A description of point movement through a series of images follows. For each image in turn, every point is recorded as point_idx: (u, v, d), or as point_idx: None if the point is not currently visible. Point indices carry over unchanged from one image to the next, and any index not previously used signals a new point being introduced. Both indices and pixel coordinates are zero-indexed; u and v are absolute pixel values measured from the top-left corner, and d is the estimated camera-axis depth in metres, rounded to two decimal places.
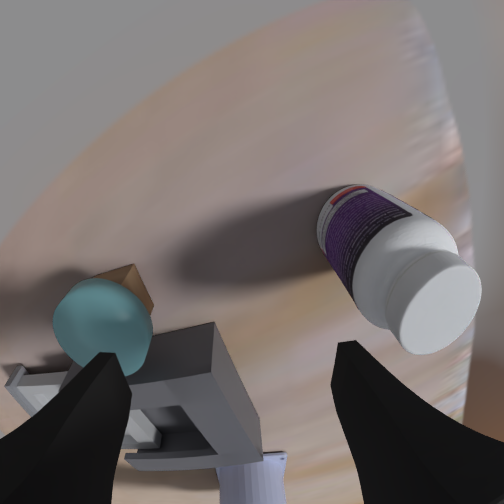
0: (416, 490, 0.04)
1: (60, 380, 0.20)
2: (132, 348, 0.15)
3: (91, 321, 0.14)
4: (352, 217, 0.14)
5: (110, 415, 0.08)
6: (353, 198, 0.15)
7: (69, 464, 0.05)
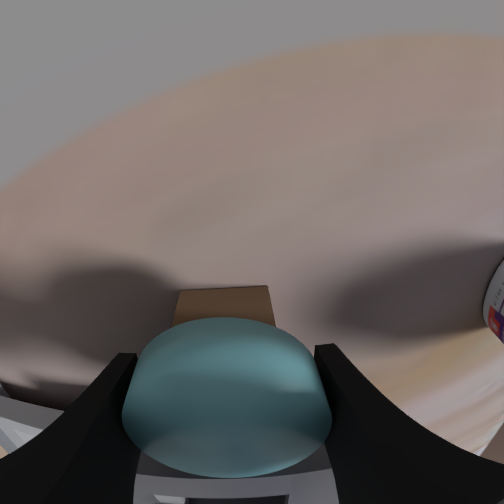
0: (382, 501, 0.04)
1: None
2: (293, 449, 0.07)
3: (240, 412, 0.07)
4: None
5: None
6: None
7: (94, 470, 0.05)
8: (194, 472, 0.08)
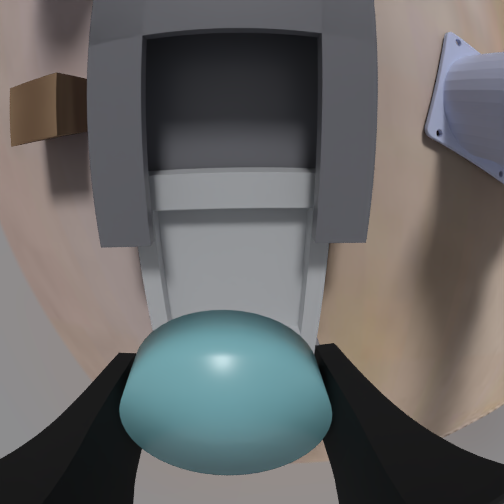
0: (382, 501, 0.04)
1: None
2: (294, 443, 0.07)
3: (236, 405, 0.07)
4: None
5: None
6: None
7: (94, 470, 0.05)
8: (195, 470, 0.08)
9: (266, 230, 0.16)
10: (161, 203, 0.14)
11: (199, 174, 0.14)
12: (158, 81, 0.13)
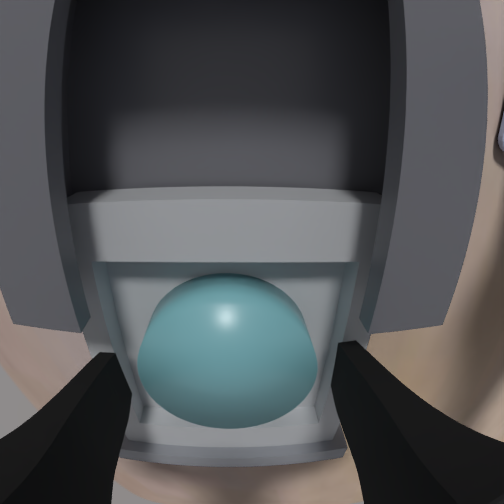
0: (416, 490, 0.04)
1: None
2: (286, 393, 0.09)
3: (236, 350, 0.08)
4: None
5: (110, 415, 0.08)
6: None
7: (69, 464, 0.05)
8: (200, 422, 0.10)
9: None
10: (103, 250, 0.08)
11: (163, 202, 0.07)
12: (108, 45, 0.07)
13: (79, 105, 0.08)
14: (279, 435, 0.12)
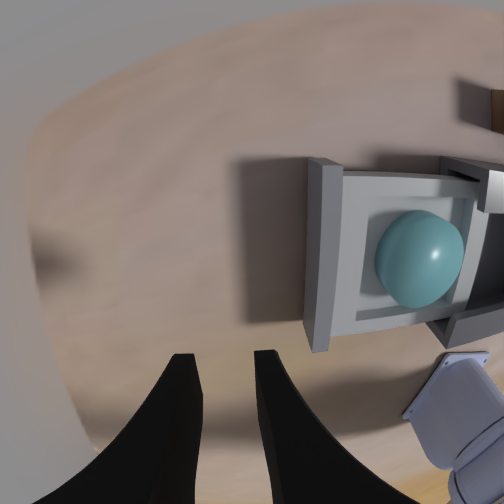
0: None
1: (437, 177, 0.15)
2: (411, 296, 0.16)
3: (443, 269, 0.16)
4: None
5: (193, 420, 0.08)
6: None
7: (172, 481, 0.05)
8: (396, 251, 0.15)
9: None
10: None
11: (484, 233, 0.16)
12: None
13: None
14: (346, 299, 0.17)
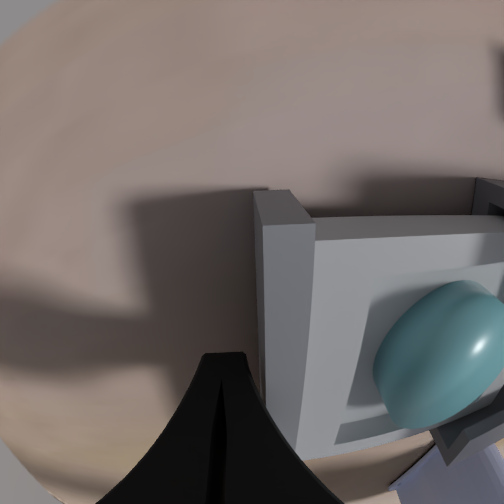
0: None
1: (495, 226, 0.07)
2: (425, 416, 0.09)
3: (480, 374, 0.08)
4: None
5: (226, 420, 0.08)
6: None
7: (216, 482, 0.05)
8: (414, 370, 0.07)
9: None
10: None
11: None
12: None
13: None
14: (319, 426, 0.09)
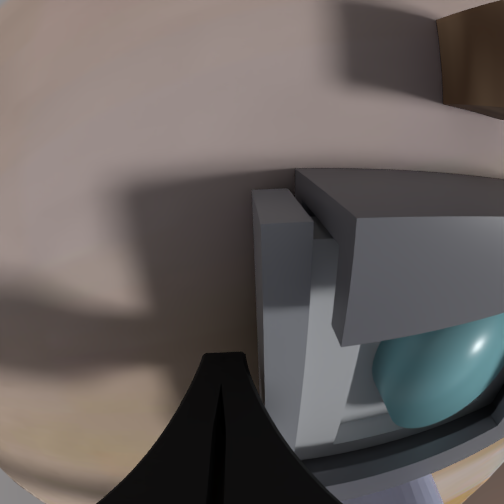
0: None
1: None
2: (425, 415, 0.09)
3: (480, 373, 0.08)
4: None
5: None
6: None
7: (216, 482, 0.05)
8: (414, 369, 0.07)
9: None
10: None
11: None
12: None
13: None
14: (319, 425, 0.09)
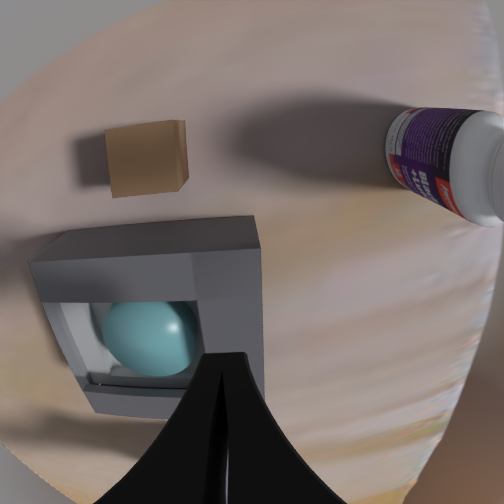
0: None
1: None
2: (142, 366, 0.17)
3: (168, 347, 0.17)
4: (438, 112, 0.12)
5: (225, 420, 0.08)
6: (432, 108, 0.13)
7: (214, 482, 0.05)
8: (105, 327, 0.16)
9: None
10: None
11: None
12: None
13: None
14: (93, 357, 0.18)
